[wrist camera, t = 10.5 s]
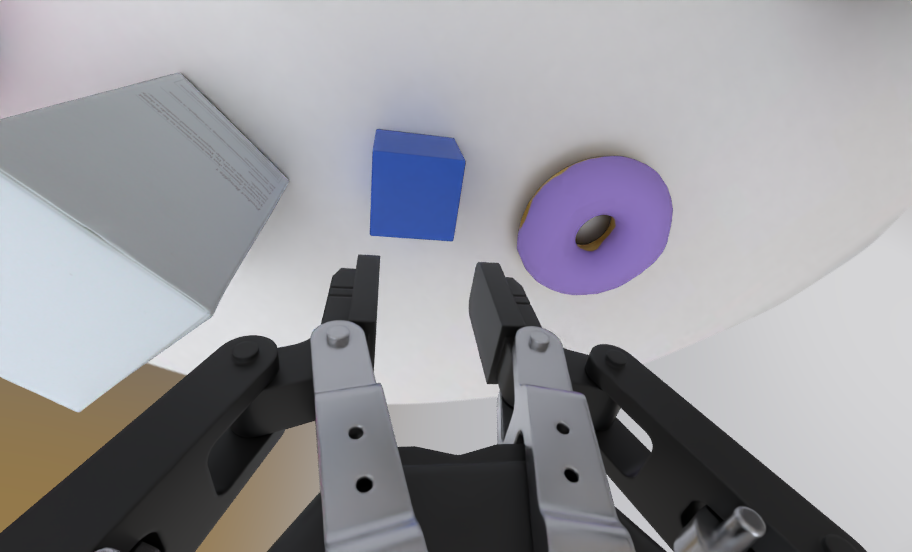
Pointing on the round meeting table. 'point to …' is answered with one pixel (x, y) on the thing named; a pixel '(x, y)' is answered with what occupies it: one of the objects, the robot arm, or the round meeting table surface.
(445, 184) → the blue cube
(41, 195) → the white packaging box
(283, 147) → the round meeting table surface
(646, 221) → the donut
